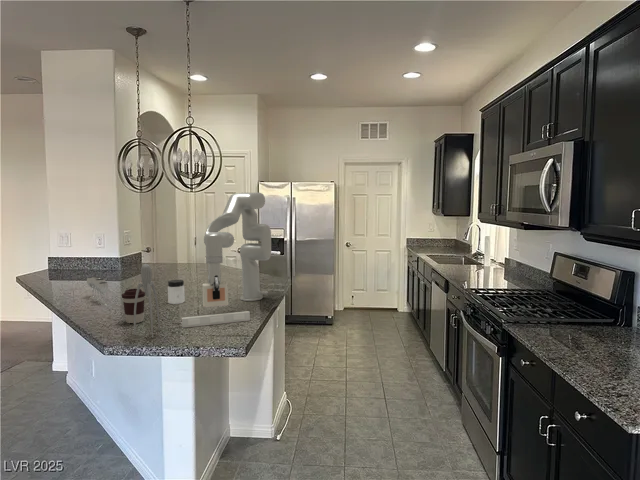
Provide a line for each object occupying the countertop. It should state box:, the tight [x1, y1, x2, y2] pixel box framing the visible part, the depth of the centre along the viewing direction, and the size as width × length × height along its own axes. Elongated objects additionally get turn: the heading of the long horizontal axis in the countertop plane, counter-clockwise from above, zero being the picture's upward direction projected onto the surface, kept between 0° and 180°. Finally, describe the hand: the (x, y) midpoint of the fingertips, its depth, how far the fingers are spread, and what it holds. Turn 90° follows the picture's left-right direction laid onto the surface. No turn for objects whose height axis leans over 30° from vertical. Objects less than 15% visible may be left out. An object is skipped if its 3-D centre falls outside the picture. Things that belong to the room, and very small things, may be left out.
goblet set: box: [86, 275, 110, 306], centre depth 246 cm, size 28×6×13 cm, turn 41°
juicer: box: [133, 263, 161, 339], centre depth 181 cm, size 10×9×30 cm
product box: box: [201, 281, 229, 308], centre depth 206 cm, size 6×11×10 cm, turn 111°
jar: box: [167, 279, 186, 305], centre depth 240 cm, size 9×8×12 cm
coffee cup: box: [121, 288, 146, 324], centre depth 202 cm, size 10×10×15 cm
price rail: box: [181, 310, 251, 329], centre depth 198 cm, size 30×2×4 cm, turn 111°
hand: (215, 297), depth 206 cm, fingers closed on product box, 6 cm apart
